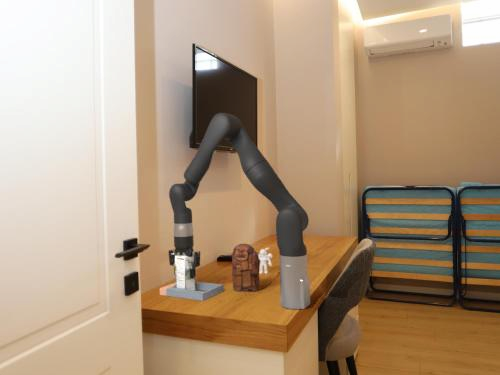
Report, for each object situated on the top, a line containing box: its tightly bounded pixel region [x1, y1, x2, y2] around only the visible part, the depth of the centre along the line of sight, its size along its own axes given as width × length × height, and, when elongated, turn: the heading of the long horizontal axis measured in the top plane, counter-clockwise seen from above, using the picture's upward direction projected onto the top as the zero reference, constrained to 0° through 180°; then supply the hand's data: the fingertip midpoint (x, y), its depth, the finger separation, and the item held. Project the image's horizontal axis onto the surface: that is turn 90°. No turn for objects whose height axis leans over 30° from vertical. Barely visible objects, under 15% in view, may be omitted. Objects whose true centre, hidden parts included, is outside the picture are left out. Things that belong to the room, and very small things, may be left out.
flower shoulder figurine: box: [258, 247, 273, 275], centre depth 182 cm, size 9×4×12 cm, turn 74°
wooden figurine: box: [231, 243, 260, 292], centre depth 155 cm, size 12×6×18 cm, turn 73°
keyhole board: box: [159, 280, 224, 302], centre depth 152 cm, size 20×14×2 cm
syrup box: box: [174, 255, 197, 291], centre depth 154 cm, size 6×6×14 cm
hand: (184, 277), depth 154 cm, fingers open, 6 cm apart
